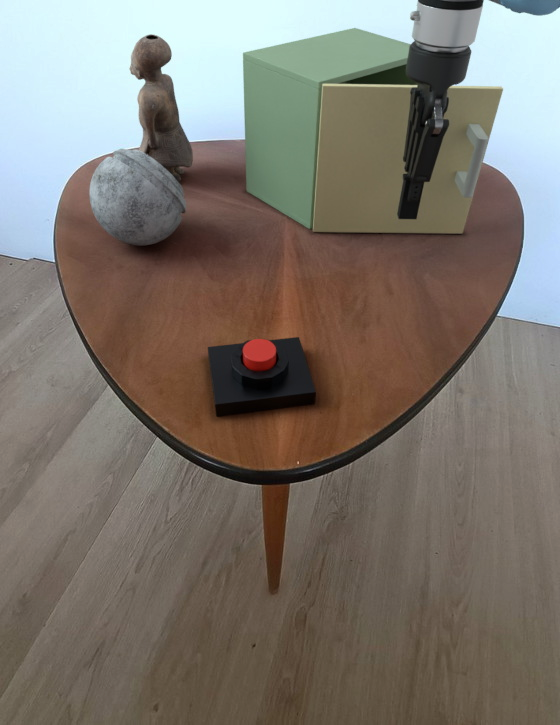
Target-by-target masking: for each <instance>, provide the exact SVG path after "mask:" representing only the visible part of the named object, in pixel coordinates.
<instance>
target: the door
mask: <svg viewBox="0 0 560 725" xmlns="http://www.w3.org/2000/svg"><path fill="white" fill-rule="evenodd" d="M412 87H417V85H379V84H322V97H321V112H320V127H319V142H318V157H317V173H316V188H315V203H314V218H313V228H312V232H313V233H364V234H365V233H367V234H368V233H371V234H372V233H373V234H379V233H381V234H450V235H451V234H453V235H454V234H455V235H457V234H458V235H459V234H460V235H461V234H464V230H465V227H466V223H467V219H468V217H469V212H470V209H471V205H472V201H473V199H474V195H475V191H476V187H477V183H478V180H479V178H480V174H481V170H482V166H483V162H484V159H485V156H486V152H487V148H488V145H489V141H490V138H491V135H492V130H493V126H494V124H495V121H496V117H497V113H498V110H499V106H500V102H501V99H502V95H503V92H504V87H503V86H499V85H498V86H497V85H495V86H494V85H491V86H490V85H452V86H451V87H449V88H448V90H447V92H448V93H447V97H449V104H448V108H447V111H446V113H445V114H444V118H443V119H449V127H448V129H447V131H446V133H445V135H444V137H443V140H442V144H441V147H440V150H439V153H438V156H437V160H436V163H435V166H434V169H433V173H432V176H431V179H430V182H424V186H423V191H422V196H421V200H420V205H419V210H418V214H417V219H398V215H397V212H398V207H399V201H400V196H401V191H402V185H403V174H407V172H405V169H404V167H405V164H406V162H404V161H403V156H404V150H405V142H406V134H407V126H408V118H409V110H410V96H411V94H410V91H411V88H412Z"/></svg>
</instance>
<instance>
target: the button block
mask: <svg viewBox="0 0 560 725" xmlns="http://www.w3.org/2000/svg"><path fill="white" fill-rule="evenodd" d="M300 339H301V338H300V337H299V336H295V337H286V338H278V339H267V340H268V341H270V342H272V343H273V344H274V345H275V347H276V363H275V365H274V366H273V367H272V368H271V369H269V370H267V371H259V372H257V371H253V370H250V369H248V368H247V367H246V366H245V365H244V362H243V347H244V346H245V344H246V343H247V342H249V341H251V340H252V339H248V340H246V341H244V342H240V343H231V344H222V345H213V346H212V345H211V346H207V355H208V364H209V372H210V380H211V387H212V393H213V402H214V408H215V417H223V416H231V415H240V414H247V413H255V412H263V411H271V410H279V409H285V408H295V407H303V406H310V405H315V404H316V396H317V390H316V387H315V383H314V381H313V378H312V375H311V371H310V367H309V365H308V362H307V358H306V355H305V352H304V348H303V346H302V343H301V340H300Z"/></svg>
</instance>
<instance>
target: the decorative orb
mask: <svg viewBox="0 0 560 725" xmlns="http://www.w3.org/2000/svg"><path fill="white" fill-rule="evenodd" d="M88 191H89V192H88V193H89V196H88V197H89V203H90V207H91V211H92V213H93V215H94V217H95V219H96V221H97V222H98V224H99V225H100V226H101V227H102V229H103V230H104V231H105V232H106V233H107V234H109V235H110V236H111V237H112V238H114V239H115V240H118V241H120V242H121V243H125V244H128V245H132V246H149V245H151V246H152V245H154V244H157V243H160V242H162V241H165V239H167V238H168V237H170V236H171V235H172V234H173V233H174V232H175V231H176V230H177V228H178V227H179V226H180V223H181V222H182V218H183V217H182V215H181V214H185V213H186V210H187V206H188V205H187V201H186V199H185V196H184V194H185V191H184V188H183V186H182V185H181V183H180V181H177V180H176V179H175V178H174V176H173V175H172V174H171V173H170V172H169V171H168V170H166V169H165V168H164V167H163V166H162V165H161V164H160V163H158V162H157V161H156V160H154V159H153V158H152V157H150V156H149V155H148V154H145V153H144V152H142V151H139V149H132V150H131V149H126V148H119V149H117V150H114V151H113V152H112V156H107V157H105V158H104V159H103V160H102V161H101V162H100V163H99V164H98V166H97V167H96V168H95V170H94V172H93V174H92V177H91V180H90V183H89V189H88Z"/></svg>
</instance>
